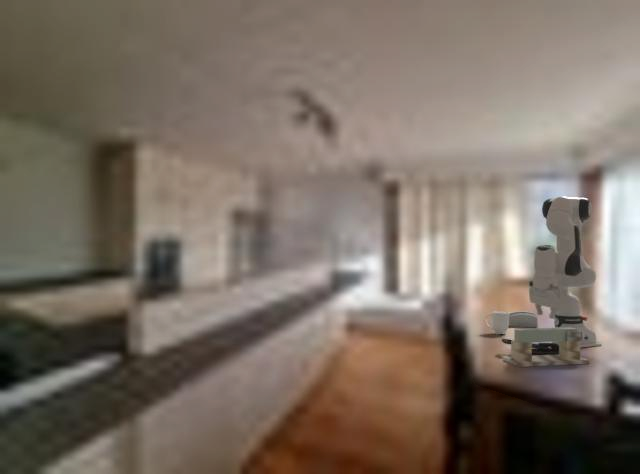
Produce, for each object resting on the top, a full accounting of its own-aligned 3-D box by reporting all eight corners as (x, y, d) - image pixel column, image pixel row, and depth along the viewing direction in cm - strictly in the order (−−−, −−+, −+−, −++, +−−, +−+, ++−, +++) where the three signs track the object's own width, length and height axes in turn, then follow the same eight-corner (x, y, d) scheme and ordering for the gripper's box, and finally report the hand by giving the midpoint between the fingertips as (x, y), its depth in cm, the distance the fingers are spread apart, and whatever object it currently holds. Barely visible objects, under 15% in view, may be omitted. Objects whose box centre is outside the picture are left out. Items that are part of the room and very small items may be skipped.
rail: (570, 338, 245) (571, 327, 245) (576, 340, 241) (576, 328, 241) (514, 340, 241) (514, 329, 241) (519, 342, 237) (519, 330, 237)
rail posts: (572, 357, 250) (572, 327, 250) (589, 363, 238) (589, 332, 238) (503, 360, 245) (503, 330, 245) (517, 366, 233) (517, 335, 233)
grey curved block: (537, 325, 332) (538, 310, 328) (538, 329, 327) (539, 314, 324) (507, 324, 335) (507, 309, 332) (507, 328, 331) (508, 313, 328)
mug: (509, 333, 308) (509, 311, 308) (508, 336, 300) (508, 313, 300) (487, 331, 313) (487, 309, 312) (485, 335, 304) (485, 312, 304)
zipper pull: (500, 337, 261) (557, 339, 258) (500, 352, 261) (557, 353, 258) (503, 341, 252) (563, 342, 249) (503, 356, 252) (563, 358, 249)
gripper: (566, 286, 231) (567, 320, 231) (539, 281, 251) (540, 312, 252) (552, 287, 230) (552, 321, 231) (526, 281, 250) (526, 313, 251)
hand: (545, 316), depth 241 cm, fingers open, 8 cm apart
